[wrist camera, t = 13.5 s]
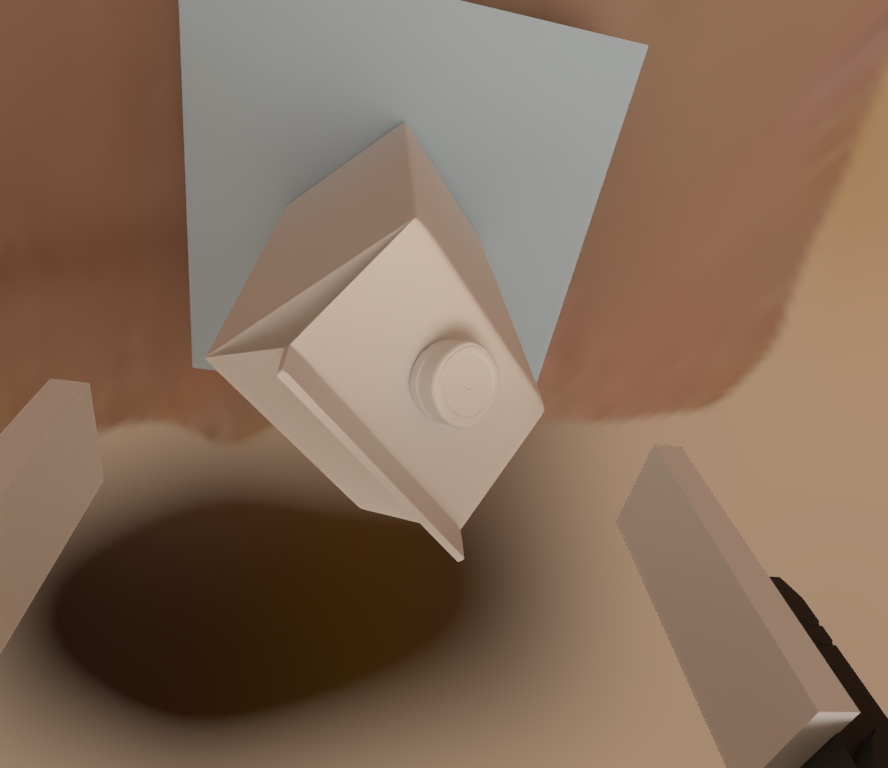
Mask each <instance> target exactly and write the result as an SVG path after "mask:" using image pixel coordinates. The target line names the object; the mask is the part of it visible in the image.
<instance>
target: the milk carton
mask: <svg viewBox="0 0 888 768" xmlns="http://www.w3.org/2000/svg"><path fill="white" fill-rule="evenodd" d="M205 359H206V360H207V361H208V362H209V363H210V364H211V365H212V366H213V367H214V368H215V369H216V370H217V371H218V372H219V373H220V374H221V375H222V376H223V377H224V378H225V379H226V380H227V381H228V382H229V383H230V384H231V385H232V386H233V387H234V388H235V389H236V390H237V391H238V392H239V393H240V394H241V395H243V396H244V397H245V398H246V399H247V400H248V401H249V402H250V403H251V404H252V405H253V406H254V407H255V408H256V409H257V410H258V411H259V412H260V413H261V414H262V415H263V416H264V417H265V418H266V419H268V420H269V421H270V422H271V423H272V424H273V425H274V426H275V427H276V428H277V429H278V430H279V431H280V432H281V433H282V434H283V435H284V436H285V437H286V438H287V439H288V440H289V441H290V442H291V443H292V444H294V445H295V446H296V447H297V448H298V449H299V450H300V451H301V452H302V453H303V454H304V455H305V456H306V457H307V458H308V459H309V460H310V461H311V462H312V463H313V464H314V465H315V466H316V467H318V468H319V469H320V470H321V471H322V472H323V473H324V474H325V475H326V476H327V477H328V478H329V479H330V480H331V481H332V482H333V483H334V484H335V485H336V486H337V487H338V488H339V489H340V490H342V492H344V493H345V494H346V495H347V496H348V497H349V498H350V499H351V500H352V501H353V502H354V503H355V504H356V505H357V506H358V507H360V508H361V509H365V510H369V511H373V512H377V513H381V514H385V515H389V516H393V517H398V518H401V519H406V520H410V521H414V522H418V523H420V524H422V525H423V527H424V528H425V529H426V530H427V531H428V532H429V533H430V534H431V535H432V536H433V537H434V538H435V539H436V540H437V541H438V542H439V543H440V544H441V545H442V546H443V547H444V548H445V549H446V550H447V551H448V552H449V553H450V554H451V555H452V556H453V557H454V558H455V559H456V560H457V562H459V561H461V560H463V559H464V553H463V545H462V538H461V531H460V529H461V528H462V527H463V525H464V524H465V522H466V521H467V520H468V518H469V517H470V516H471V514H472V513H473V511H474V510H475V509H476V507H477V506H478V504H479V503H480V502H481V500H482V499H483V497H484V496H485V495H486V493H487V492H488V490H489V489H490V488H491V486H492V485H493V483H494V482H495V480H496V479H497V478H498V476H499V475H500V473H501V472H502V470H503V469H504V468H505V466H506V465H507V464H508V462H509V461H510V459H511V458H512V457H513V455H514V454H515V452H516V451H517V449H518V448H519V447H520V445H521V444H522V442H523V441H524V440H525V438H526V437H527V435H528V434H529V433H530V431H531V430H532V428H533V427H534V426H535V424H536V423H537V421H538V420H539V418H540V417H541V415H542V414H543V412H544V406H543V401H542V398H541V395H540V393H539V390H538V387H537V385H536V382H535V379H534V377H533V374H532V372H531V369H530V367H529V364H528V361H527V359H526V356H525V354H524V351H523V349H522V346H521V343H520V341H519V338H518V336H517V333H516V331H515V328H514V325H513V323H512V320H511V318H510V315H509V313H508V310H507V307H506V305H505V302H504V300H503V297H502V295H501V292H500V289H499V287H498V284H497V282H496V279H495V277H494V274H493V271H492V269H491V266H490V264H489V261H488V259H487V256H486V253H485V251H484V248H483V246H482V243H481V241H480V239H479V238H478V236H477V234H476V233H475V231H474V229H473V228H472V226H471V224H470V223H469V221H468V220H467V218H466V216H465V215H464V213H463V212H462V210H461V208H460V207H459V205H458V204H457V202H456V200H455V199H454V197H453V195H452V194H451V192H450V191H449V189H448V187H447V186H446V184H445V183H444V181H443V179H442V178H441V176H440V175H439V173H438V171H437V170H436V168H435V167H434V165H433V163H432V162H431V160H430V158H429V157H428V155H427V154H426V152H425V150H424V149H423V147H422V146H421V144H420V142H419V141H418V139H417V138H416V136H415V134H414V133H413V131H412V130H411V128H410V127H409V125H408V124H407V123H406V122H403V123H401V124H400V125H399V126H397V127H396V128H394V129H393V130H392V131H390V132H389V133H387V134H386V135H385V136H383V137H382V138H380V139H379V140H378V141H376V142H375V143H373V144H372V145H371V146H369V147H368V148H366V149H365V150H364V151H362V152H361V153H359V154H358V155H357V156H355V157H354V158H353V159H351V160H350V161H348V162H347V163H346V164H344V165H343V166H341V167H340V168H339V169H337V170H336V171H334V172H333V173H332V174H330V175H329V176H327V177H326V178H325V179H323V180H322V181H320V182H319V183H318V184H316V185H315V186H313V187H312V188H311V189H309V190H308V191H306V192H305V193H304V194H302V195H301V196H300V197H298V198H297V199H295V200H294V201H293V202H291V203H290V204H288V205H287V206H286V208H285V210H284V212H283V213H282V215H281V217H280V219H279V221H278V223H277V225H276V226H275V228H274V230H273V232H272V234H271V236H270V238H269V240H268V241H267V243H266V245H265V247H264V249H263V251H262V253H261V255H260V256H259V258H258V260H257V262H256V264H255V266H254V268H253V269H252V271H251V273H250V275H249V277H248V279H247V281H246V283H245V284H244V286H243V288H242V290H241V292H240V294H239V296H238V298H237V299H236V301H235V303H234V305H233V307H232V309H231V311H230V313H229V314H228V316H227V318H226V320H225V322H224V324H223V326H222V327H221V329H220V331H219V333H218V335H217V337H216V339H215V341H214V342H213V344H212V346H211V348H210V350H209V352H208V354H207V355H206V357H205Z"/></svg>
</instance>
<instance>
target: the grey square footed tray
mask: <svg viewBox="0 0 888 768" xmlns="http://www.w3.org/2000/svg"><path fill="white" fill-rule="evenodd" d="M179 24H180V51H181V77H182V103H183V130H184V156H185V182H186V209H187V235H188V261H189V288H190V314H191V340H192V367H193V368H199V369H207V370H215V371H217V370H216V369H215V368H214V367H213V366H212V365H211V364H210V363H209V362H208V361H207V360H206V359H205V357H206V355H207V354H208V352H209V350H210V348H211V346H212V344H213V342H214V341H215V339H216V337H217V335H218V333H219V331H220V329H221V327H222V326H223V324H224V322H225V320H226V318H227V316H228V314H229V313H230V311H231V309H232V307H233V305H234V303H235V301H236V299H237V298H238V296H239V294H240V292H241V290H242V288H243V286H244V284H245V283H246V281H247V279H248V277H249V275H250V273H251V271H252V269H253V268H254V266H255V264H256V262H257V260H258V258H259V256H260V255H261V253H262V251H263V249H264V247H265V245H266V243H267V241H268V240H269V238H270V236H271V234H272V232H273V230H274V228H275V226H276V225H277V223H278V221H279V219H280V217H281V215H282V213H283V212H284V210H285V208H286V206H287V205H288V204H290V203H291V202H293V201H294V200H295V199H297V198H298V197H300V196H301V195H302V194H304V193H305V192H306V191H308V190H309V189H311V188H312V187H313V186H315V185H316V184H318V183H319V182H320V181H322V180H323V179H325V178H326V177H327V176H329V175H330V174H332V173H333V172H334V171H336V170H337V169H339V168H340V167H341V166H343V165H344V164H346V163H347V162H348V161H350V160H351V159H353V158H354V157H355V156H357V155H358V154H359V153H361V152H362V151H364V150H365V149H366V148H368V147H369V146H371V145H372V144H373V143H375V142H376V141H378V140H379V139H380V138H382V137H383V136H385V135H386V134H387V133H389V132H390V131H392V130H393V129H394V128H396V127H397V126H399V125H400V124H401V123H403V122H406V123H407V124H408V125H409V127H410V128H411V130H412V131H413V133H414V134H415V136H416V138H417V139H418V141H419V142H420V144H421V146H422V147H423V149H424V150H425V152H426V154H427V155H428V157H429V158H430V160H431V162H432V163H433V165H434V167H435V168H436V170H437V171H438V173H439V175H440V176H441V178H442V179H443V181H444V183H445V184H446V186H447V187H448V189H449V191H450V192H451V194H452V195H453V197H454V199H455V200H456V202H457V204H458V205H459V207H460V208H461V210H462V212H463V213H464V215H465V216H466V218H467V220H468V221H469V223H470V224H471V226H472V228H473V229H474V231H475V233H476V234H477V236H478V238H479V239H480V241H481V243H482V246H483V248H484V251H485V253H486V256H487V259H488V261H489V264H490V266H491V269H492V271H493V274H494V277H495V279H496V282H497V284H498V287H499V289H500V292H501V295H502V297H503V300H504V302H505V305H506V307H507V310H508V313H509V315H510V318H511V320H512V323H513V325H514V328H515V331H516V333H517V336H518V338H519V341H520V343H521V346H522V349H523V351H524V354H525V356H526V359H527V361H528V364H529V367H530V369H531V372H532V374H533V377H534V379H535V382H536V384H537V381H538V378H539V375H540V372H541V368H542V365H543V362H544V359H545V356H546V353H547V350H548V347H549V344H550V341H551V338H552V335H553V332H554V329H555V326H556V323H557V320H558V317H559V314H560V311H561V308H562V305H563V302H564V299H565V296H566V293H567V290H568V287H569V284H570V281H571V278H572V275H573V272H574V269H575V266H576V263H577V260H578V257H579V254H580V251H581V248H582V245H583V242H584V239H585V236H586V233H587V230H588V227H589V224H590V221H591V218H592V215H593V212H594V209H595V206H596V203H597V200H598V197H599V194H600V191H601V188H602V185H603V182H604V179H605V176H606V173H607V170H608V166H609V163H610V160H611V157H612V154H613V151H614V148H615V145H616V142H617V139H618V136H619V133H620V130H621V127H622V124H623V121H624V118H625V115H626V112H627V109H628V106H629V103H630V100H631V97H632V94H633V91H634V88H635V85H636V82H637V79H638V76H639V73H640V70H641V67H642V64H643V61H644V58H645V55H646V52H647V49H648V46H649V45H645V44H641V43H637V42H633V41H628V40H624V39H620V38H616V37H612V36H608V35H603V34H599V33H595V32H591V31H587V30H583V29H578V28H574V27H570V26H566V25H562V24H558V23H553V22H549V21H545V20H541V19H537V18H533V17H528V16H524V15H520V14H516V13H512V12H508V11H504V10H499V9H495V8H491V7H487V6H483V5H479V4H474V3H470V2H466V1H462V0H179Z"/></svg>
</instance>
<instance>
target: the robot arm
mask: <svg viewBox="0 0 888 768" xmlns="http://www.w3.org/2000/svg"><path fill="white" fill-rule="evenodd" d="M103 481H104V475H103V469H102V462H101V455H100V449H99V442H98V435H97V429H96V422H95V416H94V409H93V402H92V396H91V389H90V383H86V382H77V381H68V380H59V379H49V380H48V381H47V382H46V384H45V385H44V386H43V387H42V388H41V389H40V390H39V391H38V392H37V394H36V395H35V396H34V397H33V398H32V399H31V400H30V401H29V402H28V403H27V405H26V406H25V407H24V408H23V409H22V410H21V411H20V412H19V413H18V415H17V416H16V417H15V418H14V419H13V420H12V421H11V422H10V423H9V424H8V426H7V427H6V428H5V429H4V430H3V431H2V432H1V433H0V653H1V652H2V650H3V649H4V647H5V645H6V643H7V642H8V640H9V638H10V637H11V635H12V633H13V632H14V630H15V628H16V626H17V625H18V623H19V622H20V620H21V618H22V617H23V615H24V613H25V612H26V610H27V608H28V607H29V605H30V603H31V602H32V600H33V598H34V596H35V595H36V593H37V591H38V590H39V588H40V586H41V585H42V583H43V581H44V580H45V578H46V576H47V575H48V573H49V571H50V570H51V568H52V566H53V565H54V563H55V561H56V560H57V558H58V556H59V555H60V553H61V551H62V550H63V548H64V546H65V544H66V543H67V541H68V539H69V538H70V535H71V534H72V533H73V531H74V529H75V528H76V526H77V524H78V523H79V521H80V519H81V518H82V516H83V514H84V512H85V511H86V509H87V508H88V506H89V504H90V503H91V501H92V499H93V497H94V495H95V494H96V492H97V491H98V489H99V487H100V485H101V484H102V482H103ZM616 522H617V524H618V527H619V529H620V531H621V534H622V535H623V538H624V540H625V542H626V545H627V547H628V549H629V551H630V554H631V556H632V558H633V560H634V562H635V565H636V567H637V569H638V571H639V574H640V576H641V578H642V580H643V582H644V585H645V587H646V589H647V591H648V594H649V596H650V598H651V600H652V603H653V605H654V607H655V609H656V611H657V614H658V616H659V618H660V620H661V623H662V625H663V627H664V629H665V632H666V634H667V636H668V638H669V640H670V643H671V645H672V647H673V649H674V652H675V654H676V656H677V658H678V660H679V663H680V665H681V667H682V669H683V672H684V674H685V676H686V678H687V681H688V683H689V685H690V687H691V689H692V692H693V694H694V696H695V698H696V700H697V703H698V705H699V707H700V709H701V712H702V714H703V716H704V718H705V721H706V723H707V725H708V727H709V730H710V732H711V734H712V736H713V738H714V741H715V743H716V745H717V747H718V750H719V752H720V754H721V756H722V758H723V760H724V763H725V765H726V767H727V768H888V718H887V717H886V716H885V714H884V713H883V711H882V710H881V709H880V707H879V706H878V704H877V703H876V702H875V700H874V699H873V697H872V696H871V695H870V693H869V692H868V690H867V689H866V687H865V686H864V685H863V683H862V682H861V680H860V679H859V678H858V676H857V675H856V673H855V672H854V670H853V669H852V668H851V666H850V665H849V663H848V662H847V661H846V659H845V658H844V656H843V655H842V653H841V652H840V651H839V649H838V648H837V647H836V646H835V645H833V644H832V639H831V638H830V636H829V635H828V634H827V632H826V631H825V629H824V628H823V627H822V626H819V621H818V620H817V618H816V617H815V615H814V614H813V612H812V611H811V610H810V608H809V607H808V605H807V604H806V602H805V601H804V600H803V599H802V597H801V596H799V595H798V594H797V593H796V592H795V591H794V590H793V589H792V588H791V587H790V586H788V584H786V583H785V582H784V581H783V580H782V579H781V578H780V577H769V576H768V574H767V573H766V572H765V570H764V569H763V567H762V566H761V564H760V563H759V561H758V560H757V558H756V557H755V555H754V554H753V552H752V551H751V549H750V548H749V546H748V545H747V543H746V542H745V540H744V539H743V537H742V536H741V535H740V533H739V532H738V530H737V528H736V527H735V526H734V524H733V523H732V521H731V520H730V518H729V517H728V515H727V514H726V512H725V511H724V509H723V508H722V506H721V505H720V503H719V502H718V500H717V499H716V497H715V496H714V495H713V493H712V492H711V490H710V488H709V487H708V486H707V484H706V483H705V481H704V480H703V478H702V477H701V475H700V474H699V472H698V471H697V469H696V468H695V466H694V465H693V463H692V462H691V461H690V459H689V457H688V456H687V455H686V453H685V451H684V450H683V448H682V447H674V446H666V445H657V444H654V446H653V448H652V450H651V452H650V454H649V456H648V458H647V460H646V462H645V464H644V466H643V468H642V470H641V472H640V474H639V476H638V478H637V480H636V482H635V485H634V486H633V488H632V491H631V492H630V494H629V497H628V499H627V501H626V503H625V505H624V507H623V509H622V511H621V513H620V515H619V517H618V519H617V521H616Z"/></svg>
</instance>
